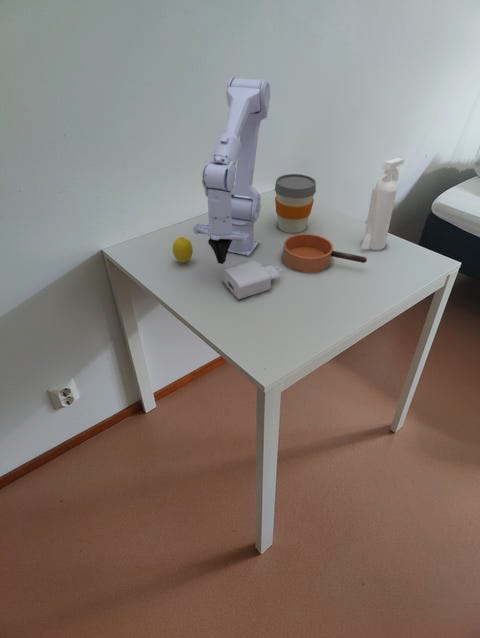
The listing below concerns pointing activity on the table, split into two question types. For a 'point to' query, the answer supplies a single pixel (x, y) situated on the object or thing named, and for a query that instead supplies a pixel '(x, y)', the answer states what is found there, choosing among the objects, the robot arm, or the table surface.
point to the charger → (249, 278)
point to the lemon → (182, 249)
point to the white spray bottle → (381, 206)
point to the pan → (307, 253)
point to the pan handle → (348, 256)
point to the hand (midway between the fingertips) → (221, 261)
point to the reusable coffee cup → (294, 201)
